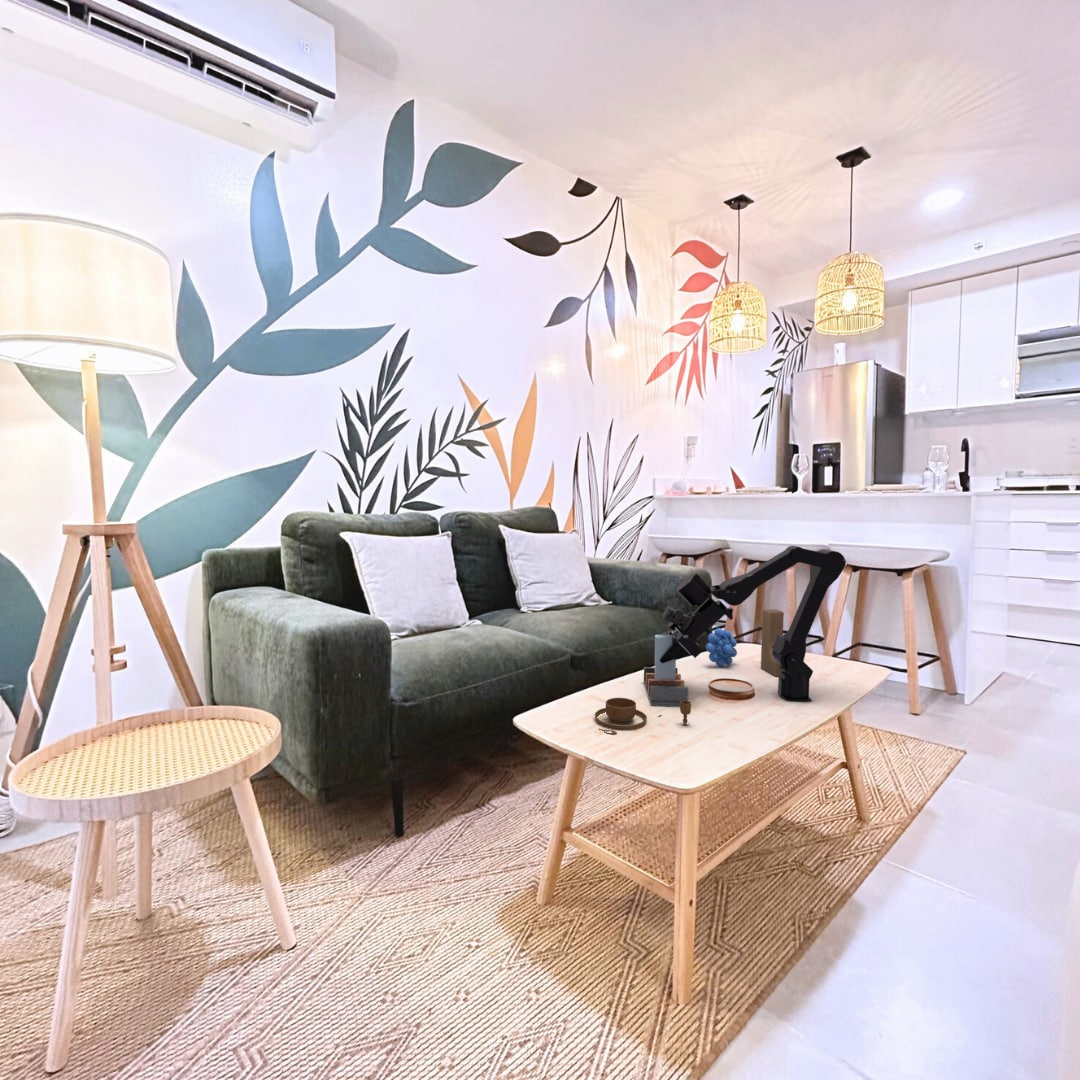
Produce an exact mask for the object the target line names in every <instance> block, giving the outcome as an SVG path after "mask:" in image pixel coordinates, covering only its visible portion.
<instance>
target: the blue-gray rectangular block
mask: <svg viewBox="0 0 1080 1080" xmlns="http://www.w3.org/2000/svg"><path fill="white" fill-rule="evenodd" d="M672 636H673V637H674V638H675V639H676V637H675V635H669V634H655V635H654V667H655V679H660V680H675V677H676V668H677V666H676V665H677V664H676V662H677V660H676V659H674V660H671V661H668V662H665V663H661V662H660V659H661V657H662V656H663V655H664V653H665V652H666V651H667V649H668V648H669V647H670V646H671V644H672Z"/></svg>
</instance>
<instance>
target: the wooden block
mask: <svg viewBox="0 0 1080 1080" xmlns="http://www.w3.org/2000/svg"><path fill="white" fill-rule="evenodd" d="M784 613H785V612H784V611H781V610H779V609H776V608H773V609H771V608H769V609H762V615H761V616H762V618H761V619H762V621H761V647H760V651H761V653H760V654H761V655H760V669H761V670H764V671H765V672H767V673H769V674H770V675H772V676H774V677H775V678H779V677H781V671H784V670H782V669H781V668H780V665H779V664H778V663H777V662H776V661H775V660H774V658H773V655H772V652H773V649H772V648H771V647H772V646H773V645H774V643H775V641H776V637H777V635H778V634H779V635H781V636H783V635H784Z"/></svg>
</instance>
